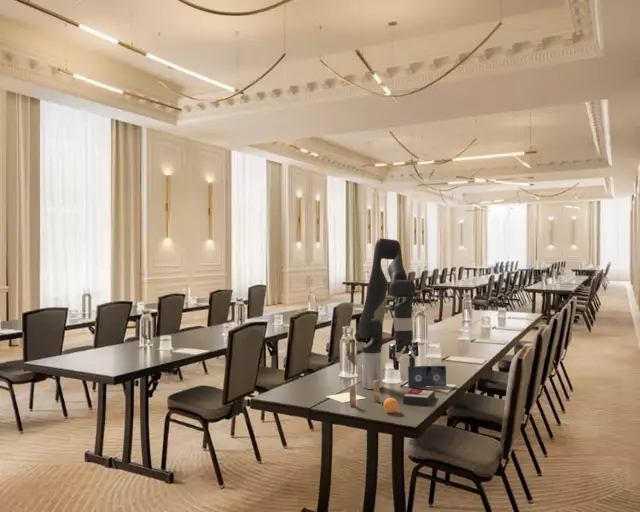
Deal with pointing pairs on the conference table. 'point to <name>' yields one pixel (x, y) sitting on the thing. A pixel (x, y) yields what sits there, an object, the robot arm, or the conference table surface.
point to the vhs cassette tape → (426, 376)
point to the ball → (391, 405)
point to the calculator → (419, 397)
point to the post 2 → (376, 391)
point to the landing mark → (344, 397)
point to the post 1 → (352, 395)
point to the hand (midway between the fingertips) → (404, 368)
